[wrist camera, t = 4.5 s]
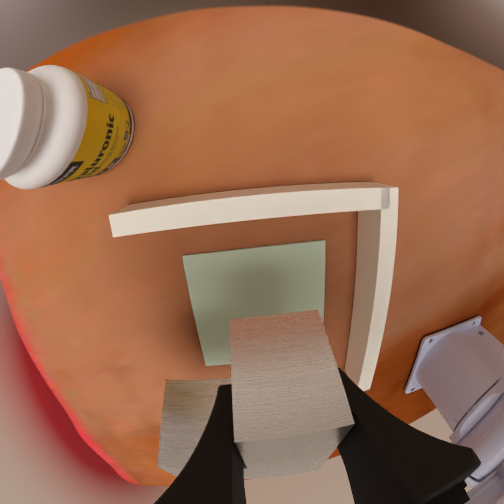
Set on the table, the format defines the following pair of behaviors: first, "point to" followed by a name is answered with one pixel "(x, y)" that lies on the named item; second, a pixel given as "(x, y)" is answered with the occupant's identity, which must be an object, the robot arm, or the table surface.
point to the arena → (293, 204)
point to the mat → (251, 288)
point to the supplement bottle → (59, 127)
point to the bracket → (266, 399)
